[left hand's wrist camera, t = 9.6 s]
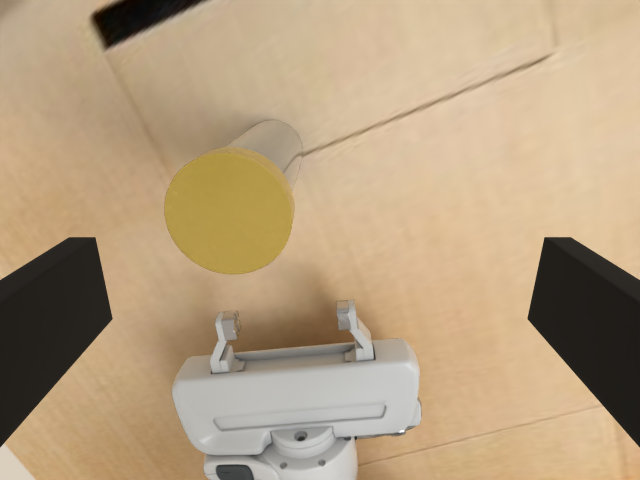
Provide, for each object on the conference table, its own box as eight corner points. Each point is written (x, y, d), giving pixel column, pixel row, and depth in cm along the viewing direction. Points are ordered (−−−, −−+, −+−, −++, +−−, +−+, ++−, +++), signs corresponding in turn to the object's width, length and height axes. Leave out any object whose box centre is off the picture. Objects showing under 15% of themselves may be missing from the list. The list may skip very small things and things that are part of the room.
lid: (293, 261, 20) (291, 276, 19) (182, 257, 20) (170, 272, 19) (295, 148, 18) (292, 155, 17) (171, 144, 18) (157, 150, 17)
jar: (302, 180, 35) (285, 266, 19) (244, 178, 35) (180, 262, 19) (303, 121, 33) (285, 161, 17) (242, 118, 33) (169, 156, 17)
